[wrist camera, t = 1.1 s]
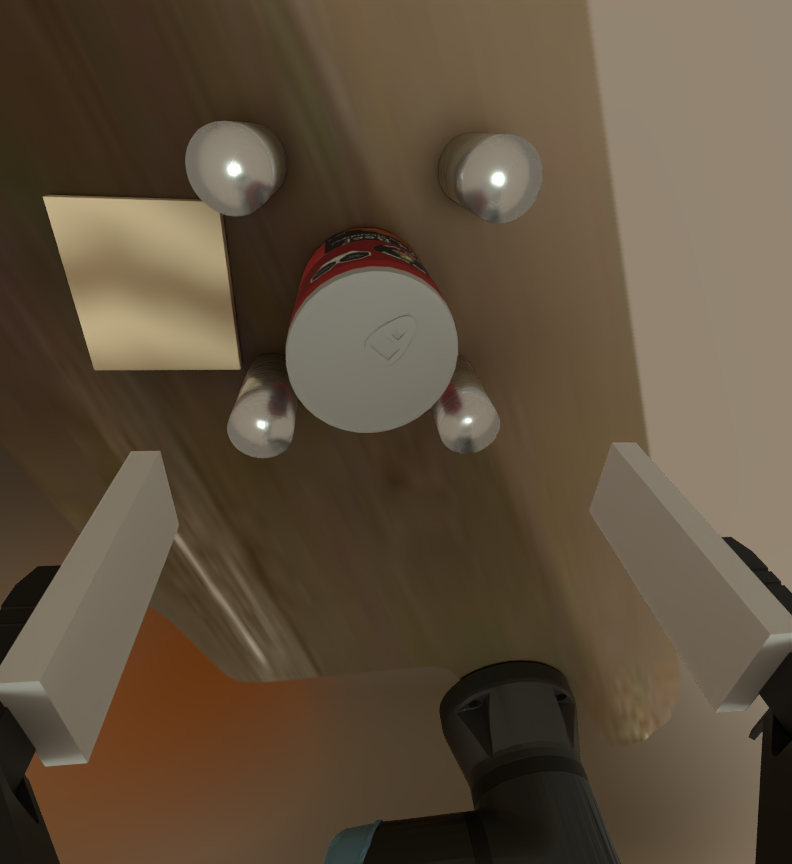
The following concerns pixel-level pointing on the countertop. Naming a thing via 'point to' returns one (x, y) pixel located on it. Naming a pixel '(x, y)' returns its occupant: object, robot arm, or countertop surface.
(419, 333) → the canned food
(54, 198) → the coaster
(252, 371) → the cylinder
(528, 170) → the cylinder
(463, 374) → the cylinder
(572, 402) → the countertop surface
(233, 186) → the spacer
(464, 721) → the robot arm
